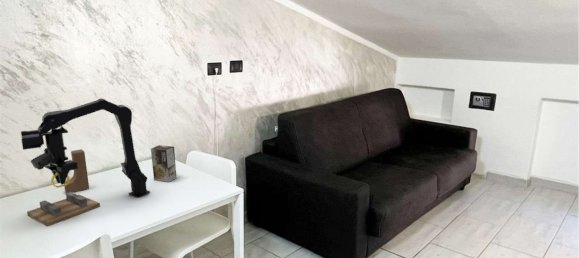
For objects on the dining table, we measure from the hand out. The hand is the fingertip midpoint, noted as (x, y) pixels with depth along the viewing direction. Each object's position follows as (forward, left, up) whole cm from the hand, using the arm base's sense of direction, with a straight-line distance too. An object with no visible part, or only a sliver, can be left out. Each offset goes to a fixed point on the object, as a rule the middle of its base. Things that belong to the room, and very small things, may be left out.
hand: (61, 183), depth 148 cm
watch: (0, 0, -1) cm, 1 cm away
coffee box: (-5, -45, -12) cm, 47 cm away
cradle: (0, 0, -12) cm, 12 cm away
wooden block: (+17, -14, -12) cm, 25 cm away
